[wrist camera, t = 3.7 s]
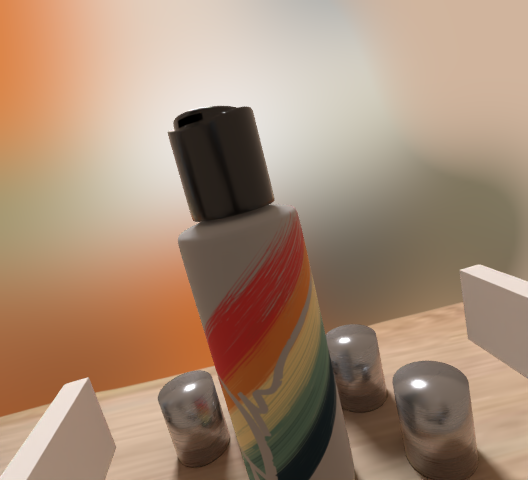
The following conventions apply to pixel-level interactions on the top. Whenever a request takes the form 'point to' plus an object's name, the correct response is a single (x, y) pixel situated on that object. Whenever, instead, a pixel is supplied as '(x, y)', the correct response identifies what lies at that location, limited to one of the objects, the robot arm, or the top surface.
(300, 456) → the lotion bottle
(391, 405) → the top surface
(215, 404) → the steel spacers
